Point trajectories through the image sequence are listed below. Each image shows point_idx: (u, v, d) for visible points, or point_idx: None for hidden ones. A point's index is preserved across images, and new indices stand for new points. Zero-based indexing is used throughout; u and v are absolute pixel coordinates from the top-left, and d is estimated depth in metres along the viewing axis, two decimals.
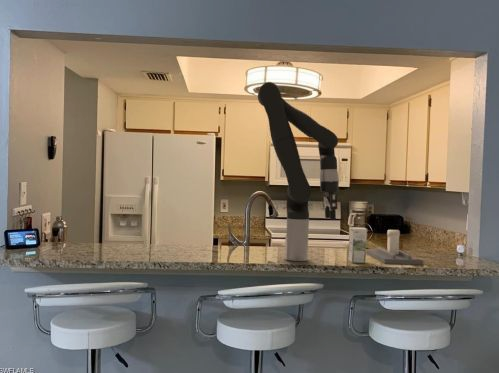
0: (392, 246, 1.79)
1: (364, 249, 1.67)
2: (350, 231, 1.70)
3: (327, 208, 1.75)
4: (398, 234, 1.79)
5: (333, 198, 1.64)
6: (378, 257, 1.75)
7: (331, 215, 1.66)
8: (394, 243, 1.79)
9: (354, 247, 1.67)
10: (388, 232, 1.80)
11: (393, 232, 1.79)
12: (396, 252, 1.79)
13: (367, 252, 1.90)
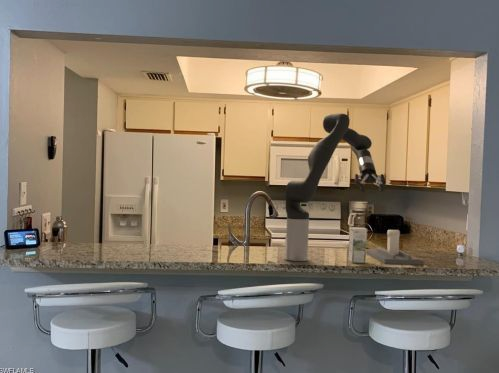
0: (392, 246, 1.79)
1: (364, 249, 1.67)
2: (350, 231, 1.70)
3: None
4: (398, 234, 1.79)
5: None
6: (378, 257, 1.75)
7: (382, 187, 1.93)
8: (394, 243, 1.79)
9: (354, 247, 1.67)
10: (388, 232, 1.80)
11: (393, 232, 1.79)
12: (396, 252, 1.79)
13: (367, 252, 1.90)
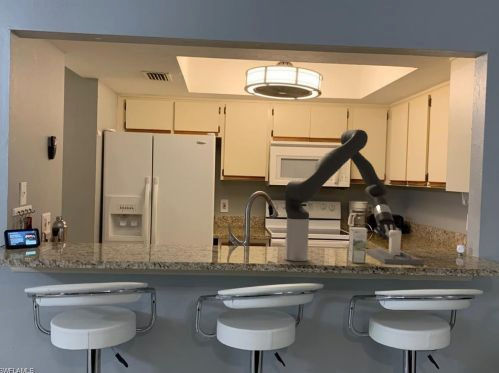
0: (393, 247, 1.77)
1: (364, 249, 1.67)
2: (350, 231, 1.70)
3: None
4: (400, 235, 1.77)
5: None
6: (378, 257, 1.75)
7: None
8: (395, 244, 1.77)
9: (354, 247, 1.67)
10: (390, 233, 1.78)
11: (394, 233, 1.77)
12: (398, 253, 1.77)
13: (367, 252, 1.90)
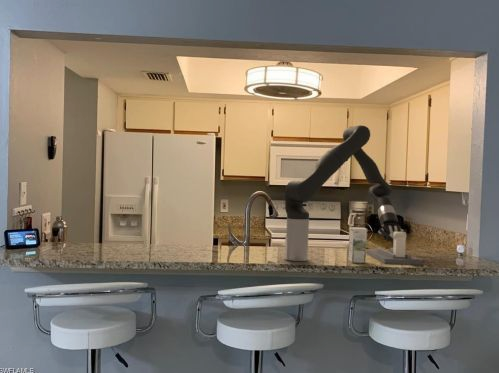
0: (398, 249, 1.72)
1: (364, 249, 1.67)
2: (350, 231, 1.70)
3: None
4: (405, 236, 1.72)
5: None
6: (378, 257, 1.75)
7: None
8: (400, 246, 1.72)
9: (354, 247, 1.67)
10: (394, 234, 1.73)
11: (399, 234, 1.72)
12: (402, 255, 1.72)
13: (367, 252, 1.90)
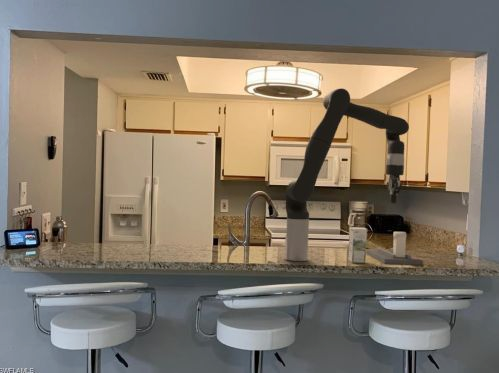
0: (398, 249, 1.72)
1: (364, 249, 1.67)
2: (350, 231, 1.70)
3: None
4: (405, 236, 1.72)
5: (398, 186, 1.76)
6: (378, 257, 1.75)
7: (392, 199, 1.81)
8: (400, 246, 1.72)
9: (354, 247, 1.67)
10: (394, 234, 1.73)
11: (399, 234, 1.72)
12: (402, 255, 1.72)
13: (367, 252, 1.90)
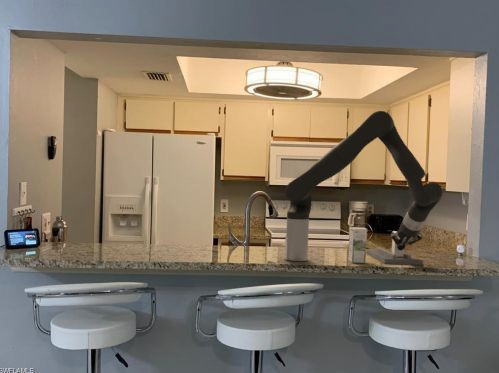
0: (397, 248, 1.73)
1: (364, 249, 1.67)
2: (350, 231, 1.70)
3: None
4: None
5: None
6: (378, 257, 1.75)
7: None
8: None
9: (354, 247, 1.67)
10: None
11: None
12: (401, 254, 1.73)
13: (367, 252, 1.90)
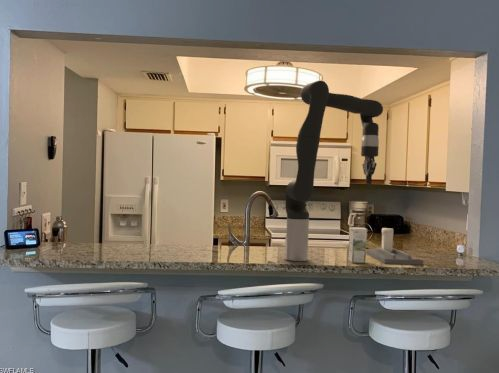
0: (386, 244, 1.86)
1: (364, 249, 1.67)
2: (350, 231, 1.70)
3: None
4: (392, 232, 1.86)
5: (372, 166, 1.80)
6: (378, 257, 1.75)
7: (367, 179, 1.85)
8: (388, 241, 1.86)
9: (354, 247, 1.67)
10: (382, 230, 1.87)
11: (387, 230, 1.86)
12: (390, 249, 1.86)
13: (367, 252, 1.90)
